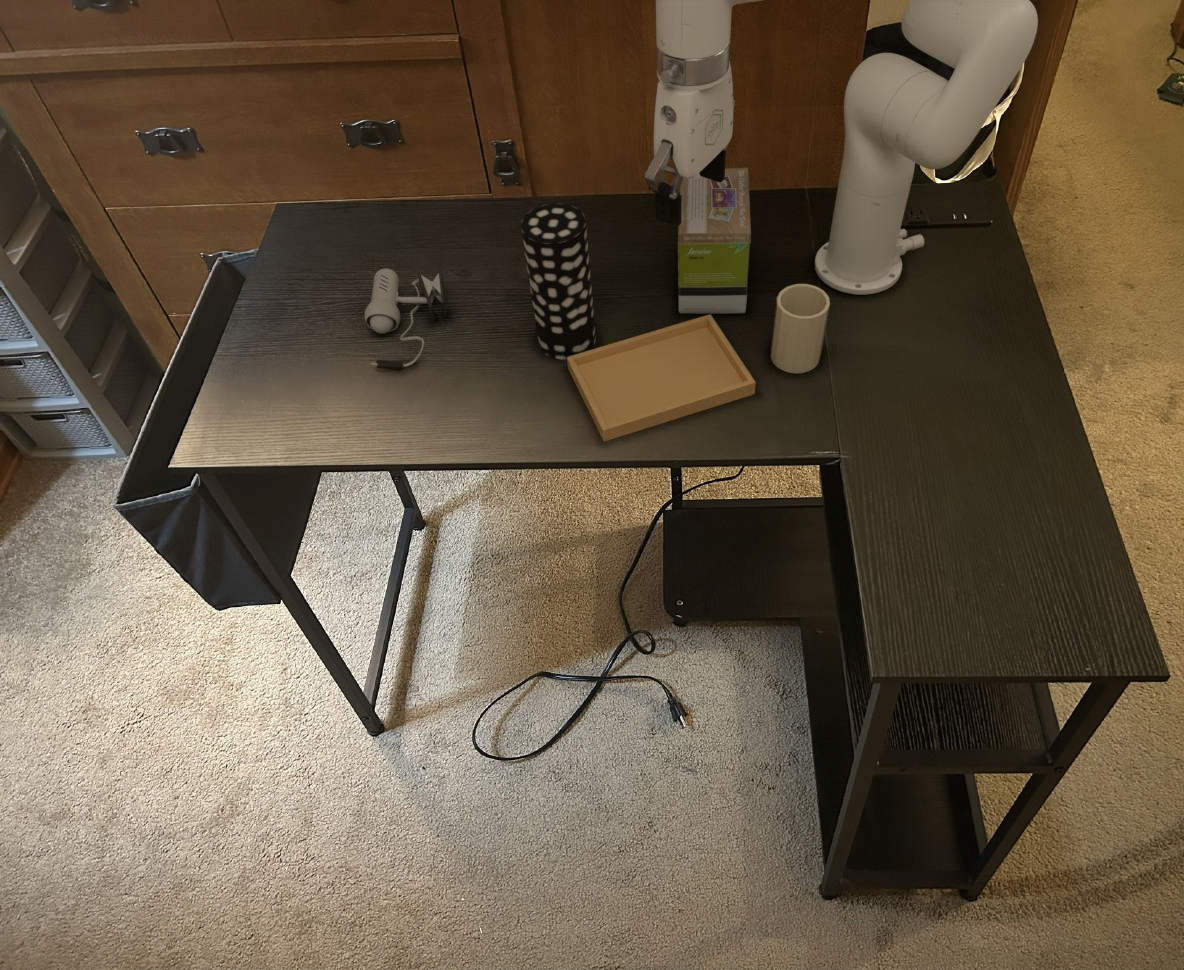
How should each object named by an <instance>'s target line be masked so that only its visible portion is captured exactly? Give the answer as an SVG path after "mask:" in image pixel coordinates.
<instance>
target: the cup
mask: <svg viewBox="0 0 1184 970" xmlns="http://www.w3.org/2000/svg"><path fill="white" fill-rule="evenodd" d="M830 300H831V299H830V297H829V295H828V294H827V293H826V292H825V290H824V289H822V288H820V287H818V286H816V285H813V284H809V283H796V284H795V283H794V284H791V285H788V286H786V287H784V288H783V289H782V290H781V291H779V293H778V295H777V296H776V302H775V310H774V319H773V326H772V334H771V335H772V336H771V342H770V343H771V345H770V359H771V362H772V363H773V365H774V367H776V368H778V369H779V370H781V371H782V372H786V373H788V374H789V373H790V374H804V373H809V372H810V371H812V370H813V369H815V368H816V367H817V366H818V365H819V363H820V360H821V356H822V351H823V346H824V340H825V335H826V328H827V323H828V317H829V312H830V306H831V302H830Z"/></svg>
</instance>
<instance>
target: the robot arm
mask: <svg viewBox="0 0 1184 970" xmlns="http://www.w3.org/2000/svg"><path fill="white" fill-rule="evenodd" d="M763 1H764V0H655V38H656V39H655V41H656V45H655V46H656V47H655V48H656V76H657V77H656V78H657V79H658V83H657V88H656V96H655V105H654V119H653V158H652V160H651V162H650V164H649V166H648V168H647V169H646V170H645V173H644V180H645V182H646V183H647V185H648V189H649V190H650V191H651V192H652V193H653V194H654V201H655V204H654V205H655V208H654V209H655V218H656V220H658V221H660V222H664V223H666V224H668V225H671V226H673V227H678V226H679V225H680V224H681V212H682V195H680V187H681V184H682V181H683V178H684V177H685V178H687V179H690V178H692V177H694V176H696V175H697V174H698V173H699V172H700V176H702V177H705V178H708V179H711V180H714V181H717V182H722V181H723V180H724V179H725V169H726V159H727V158H726V157H727V151H726V149H728V146H729V143H730V142H731V140H732V138H733V133H734V132H733V130H734V110H735V106H736V100H735V99H734V84H733V75H732V67H731V61H730V53H731V52H730V51H731V29H732V12H733V7H734V6H736V5H740V4H747V3H755V2H763ZM1038 17H1039V16H1038V12H1037V9H1036V7H1035V5H1034V4H1033V2H1032V1H1031V0H909V1H908V3H907V5H906V7H905V9H904V11H903V14H902V18H901V31H902V34H903V36H904V38H905V39H906V40H907V41H908V42H909V43H910V44H911V45H912V46H914V47H915V48H917V49H918V50H920V51H921V52H923V53H925V54H926V55H928V56H930V57H932V58H934V59H936V60H937V61H939V62H941V63H943V64H944V65H947V66H948V67H950V68H952V69H954V70H953V72H952V75H951V76H950V79H949V80H948V79H947V78H945V77H943V76H941V75H939V74H937V73H936V72H935V71H933V70H931V69H929V68H927V67H925V66H923V65H921V64H920V63H918V62H916V61H915V60H912V59H911V58H908V57H906V56H904V55H900V54H898V53H893V52H880V53H877V54H873V55H871V56H869V57H866V58H865V59H864V60H863V61H861V63H859V65H858V66H857V67H856V68H855V69H854V71H853V72H852V73H851V75H850V77H849V80H848V82H847V85H846V88H845V92H844V97H843V123H844V144H843V154H842V160H841V167H840V173H839V179H838V183H837V184H838V185H837V189H836V196H835V203H834V208H833V214H832V221H831V226H830V233H829V239H828V241H827V242H826V243H824V244H823V245H822V246H821V247H820V248H819V249H818V250H817V252H816V254H815V257H814V271H815V272H816V275H817V276H818V277H819V280H821V281H822V282H823V283H824V284H826V285H827V286H829V287H830V288H832V289H834V290H837V291H839V292H842V293H845V294H851V295H861V296H863V295H864V296H865V295H873V294H877V293H880V292H883V291H885V290H889V288H891V287H893V286H894V285H895V284H896V283H897V282H898V280H899V279H900V277H901V274H902V270H903V261H902V258H901V256H904V255H905V254H906V253H907V252H909V251H914V250H917V249H920V248H923V247H924V245H925V238H924V236H923V235H922V234H916V235H913V236H909V237H907V236H908V232H907V230H906V229H905V228H901V227H902V223H903V219H904V216H905V212H906V208H907V207H906V206H907V202H908V199H909V195H910V190H911V186H912V182H913V178H914V174H915V168H916V165H918V166H920V167H922V168H925V169H929V170H941V169H944V168H947V167H948V166H950V165H952V164H953V163H954V162H956V161H957V160H958V159H959V158H960V157H961V156H962V155H963V154H964V153H965V151H966V150H968V148H969V147H970V145H971V144H972V142H973V141H974V140H975V138H976V137H977V135H978V134H979V132H980V131H981V129H982V128H983V126H984V124H985V123H986V121H988V119H989V117H990V115H991V114H992V112H993V111H994V110H995V108H996V106H997V105H998V103H999V102H1000V101H1001V98H1003V96H1004V94H1005V92H1006V91H1007V90H1008V88H1009V87H1010V85H1011V83H1012V82H1013V80H1014V79H1015V78H1016V76H1017V74H1018V73H1019V71H1020V70H1021V68H1022V67H1023V65H1024V63H1025V61H1026V60H1027V58H1028V56H1029V55H1030V52H1031V50H1032V47H1033V46H1034V42H1035V39H1036V35H1037V32H1038V26H1039V18H1038ZM671 161H673V162H674V165H675V166H671V165H669V163H671ZM667 173H670V174H672V175H674V177H673V181H672V183H671V185H670V184H668V183H667V182H665V178H666V176H667Z"/></svg>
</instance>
